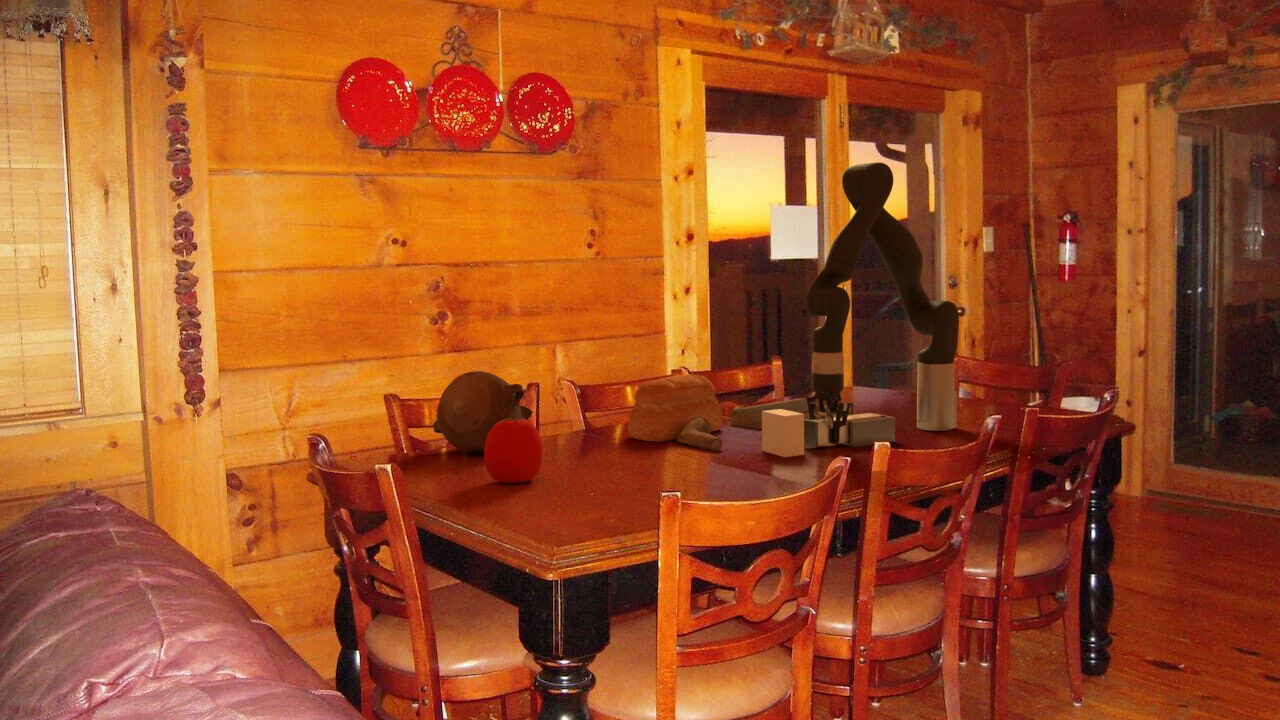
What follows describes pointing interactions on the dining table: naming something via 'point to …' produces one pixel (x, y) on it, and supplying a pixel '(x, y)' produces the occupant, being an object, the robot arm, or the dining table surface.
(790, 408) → the grey shallow rectangular piece
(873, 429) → the sleeve
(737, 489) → the dining table surface
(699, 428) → the pipe
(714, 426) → the bread
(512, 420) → the tomato
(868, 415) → the beige rectangular block
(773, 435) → the tan block
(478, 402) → the jug
